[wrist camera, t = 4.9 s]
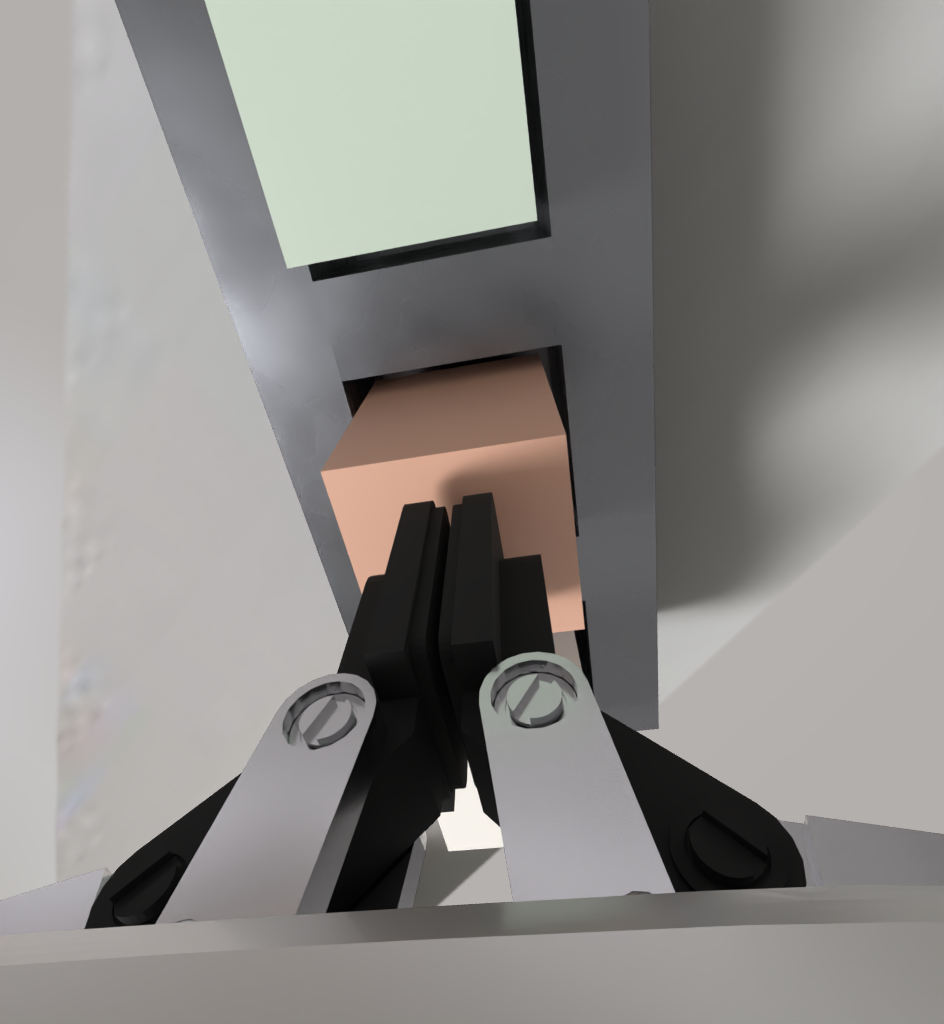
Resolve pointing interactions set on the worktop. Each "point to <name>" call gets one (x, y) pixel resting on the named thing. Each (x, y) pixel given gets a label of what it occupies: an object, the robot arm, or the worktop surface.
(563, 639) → the ivory key
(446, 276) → the grey socket block
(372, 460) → the peach key
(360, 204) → the pale green block
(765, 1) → the worktop surface
